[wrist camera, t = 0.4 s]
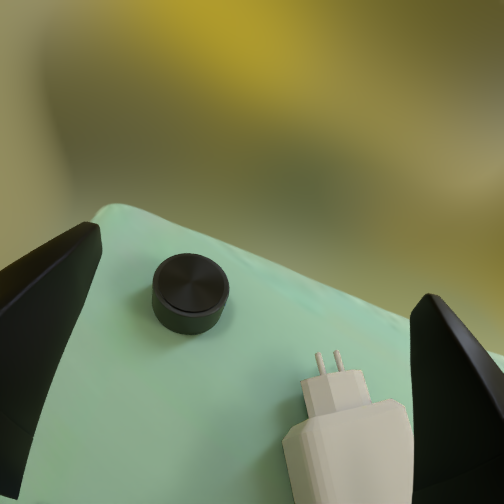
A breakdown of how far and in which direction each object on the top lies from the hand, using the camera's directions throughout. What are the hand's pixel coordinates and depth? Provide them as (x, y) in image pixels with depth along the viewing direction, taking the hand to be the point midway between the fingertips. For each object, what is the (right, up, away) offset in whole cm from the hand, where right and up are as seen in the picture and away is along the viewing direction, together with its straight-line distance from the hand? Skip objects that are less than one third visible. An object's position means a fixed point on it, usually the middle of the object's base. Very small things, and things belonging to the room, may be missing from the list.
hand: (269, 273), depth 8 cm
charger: (+6, -15, +14) cm, 21 cm away
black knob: (-6, -4, +19) cm, 20 cm away
